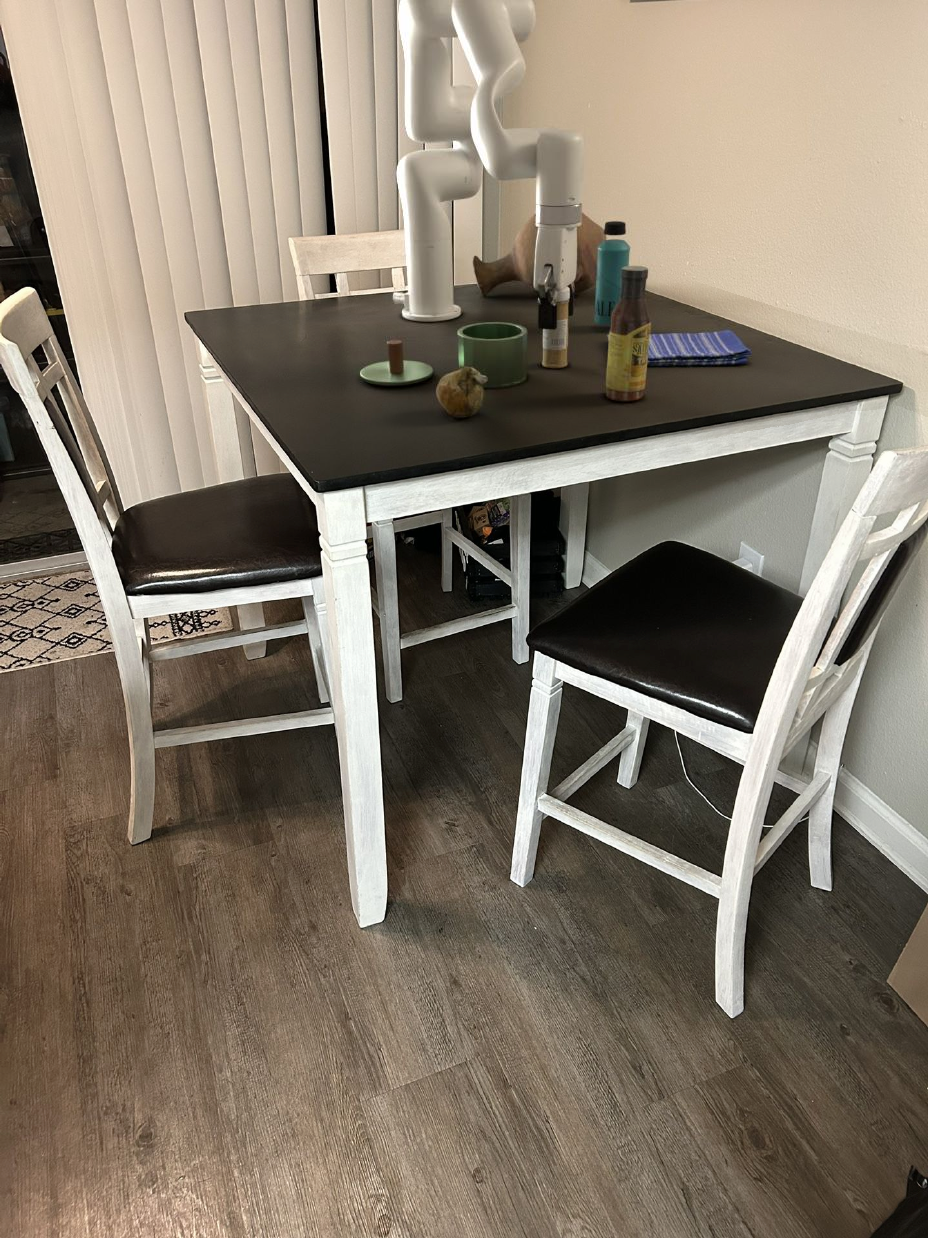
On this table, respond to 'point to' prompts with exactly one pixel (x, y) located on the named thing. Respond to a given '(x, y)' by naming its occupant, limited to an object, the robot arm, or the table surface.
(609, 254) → the beverage bottle
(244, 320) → the table surface
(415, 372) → the tin lid
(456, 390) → the onion
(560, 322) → the sprinkles bottle
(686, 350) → the dish towel
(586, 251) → the jug
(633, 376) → the sauce bottle
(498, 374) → the tin
